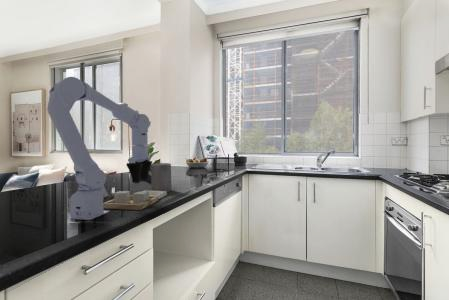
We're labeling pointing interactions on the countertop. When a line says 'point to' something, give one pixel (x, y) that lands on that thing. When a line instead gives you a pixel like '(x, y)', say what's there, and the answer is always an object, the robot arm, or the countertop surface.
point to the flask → (104, 192)
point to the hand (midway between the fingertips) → (140, 180)
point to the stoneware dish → (157, 193)
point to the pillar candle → (161, 177)
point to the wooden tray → (130, 204)
